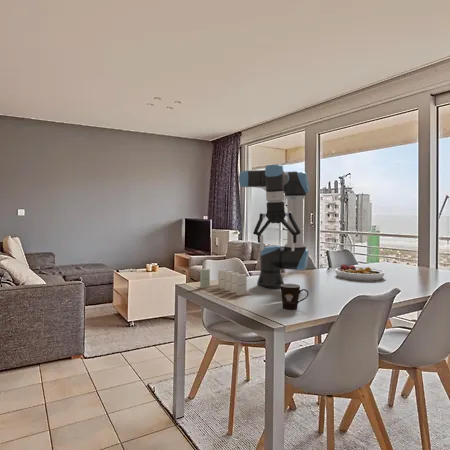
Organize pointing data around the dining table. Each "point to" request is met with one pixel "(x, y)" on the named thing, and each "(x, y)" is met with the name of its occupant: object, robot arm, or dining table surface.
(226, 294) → the board
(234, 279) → the domino
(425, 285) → the dining table surface
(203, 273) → the domino
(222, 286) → the domino
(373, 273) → the bowl
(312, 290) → the dining table surface
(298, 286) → the coffee mug
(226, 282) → the domino
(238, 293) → the domino
